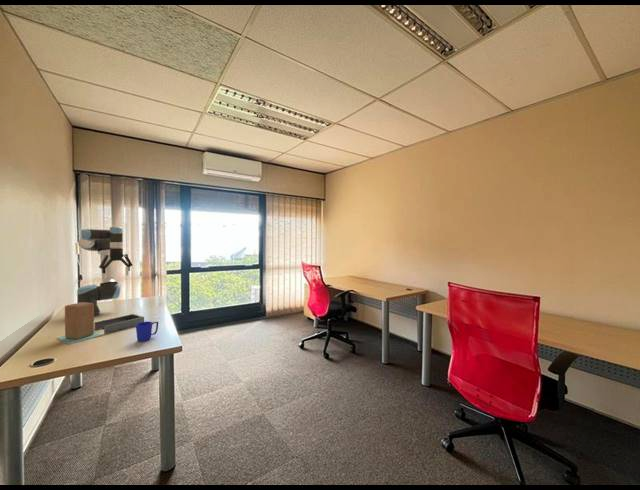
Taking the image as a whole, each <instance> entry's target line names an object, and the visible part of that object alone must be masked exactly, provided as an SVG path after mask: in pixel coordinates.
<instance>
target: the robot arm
mask: <svg viewBox="0 0 640 490" xmlns="http://www.w3.org/2000/svg"><path fill="white" fill-rule="evenodd" d="M123 233H124V231H123V227H121V226H110V227H109V229H93V228H91V229H90V228H86V229H84V228H83V229H81V230H80V238H79V239H78V241H77V242H78V247H80V248H81V249H83V250H85V251H91V252H97V254H98V255H99V258H100V265H99V266H98V268H99V269H101V271H100V273H101V282H100V283H99V286H98V285H97V284H90V285H89V284H88V285H83V286H79V288H78V289H77V291H76V295H77V297H76V299H77V301H76V303H80V302H85V303H93V304H94V317H95V316H100V314H101V309H100V307H99V305H98V302H99V301H106V300H107V301H108V300H113V299H114V300H115V299H118V298H119V297H120V294H121V284H120V283H118V281H117V280H116V273H115V264H114V263H115V262H116V261H120V262H122V264H124V265H125V277H126V276H127V277H129V276H130V275H129V272H130V271H131V267H132V266H133V262H131V259H130V258H129V254H127V253H124V248H123V247H124V245H123V243H124V242H123V240H124V239H123V238H124V237H123V235H124V234H123Z"/></svg>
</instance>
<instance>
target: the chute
mask: <svg viewBox="0 0 640 490" xmlns="http://www.w3.org/2000/svg"><path fill="white" fill-rule="evenodd" d="M141 322H145V316H142V315H138V314H135V313H132V314H126V315H122V316H121V315H120V316H117V317H113V318H109V319H104V320H99V321H96V322H95V321H94V331H98V330H102V329H103V330H104V333H103V334H104V335H107V334H111V333H115V332H119V331H122V330H126V329H129V328H134V327H136V324H138V323H141Z"/></svg>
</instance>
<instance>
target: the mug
mask: <svg viewBox="0 0 640 490" xmlns="http://www.w3.org/2000/svg"><path fill="white" fill-rule="evenodd" d="M154 324H156V326H155V331H154V332H153V331H152V329H153V325H154ZM158 329H159V321H153V322H152V321H144V322H141V323H138V324H136V326H135V331H136V333H135V334H136V339H137V341H138V342H140V343H141V342H142V343H144V342H147V341H149V340H151V339H152V336H154V335H156V334H157V333H158ZM152 332H153V333H152Z"/></svg>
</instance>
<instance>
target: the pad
mask: <svg viewBox="0 0 640 490" xmlns="http://www.w3.org/2000/svg"><path fill="white" fill-rule="evenodd" d="M99 337H103V334H101V333H99V332H97V331H94V334H92V335H89V336H86V337H83V338H80V339H70V338H66V337H65V335H63V336H62V335H61V336H59V337H56V339H57V340H58V341H61V342H63V343H65V344H67V345H72V344H77V343H79V342H83V341H87V340H92V339H95V338H99Z"/></svg>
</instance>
